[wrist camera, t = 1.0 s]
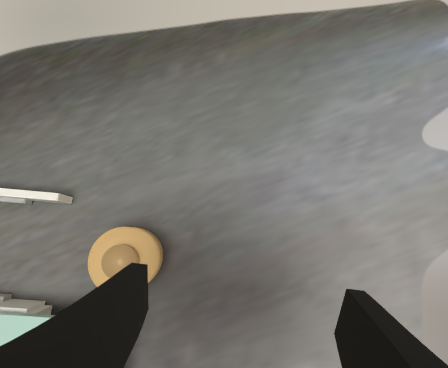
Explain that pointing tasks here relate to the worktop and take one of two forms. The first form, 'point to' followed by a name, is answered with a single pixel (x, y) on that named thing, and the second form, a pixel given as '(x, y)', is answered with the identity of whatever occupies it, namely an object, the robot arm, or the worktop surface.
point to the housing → (5, 301)
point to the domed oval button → (124, 253)
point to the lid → (18, 324)
